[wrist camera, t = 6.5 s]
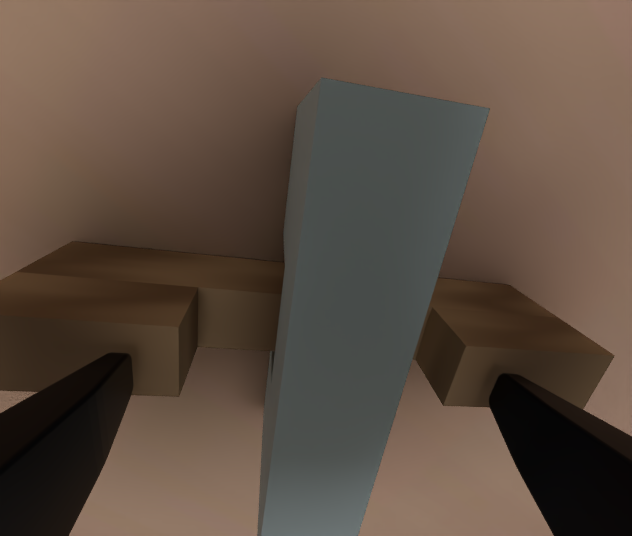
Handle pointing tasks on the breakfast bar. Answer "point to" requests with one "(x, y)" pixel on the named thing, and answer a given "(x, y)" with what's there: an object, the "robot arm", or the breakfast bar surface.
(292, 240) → the blue-grey archway
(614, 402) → the breakfast bar surface
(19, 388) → the walnut u-shaped block
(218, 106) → the breakfast bar surface
